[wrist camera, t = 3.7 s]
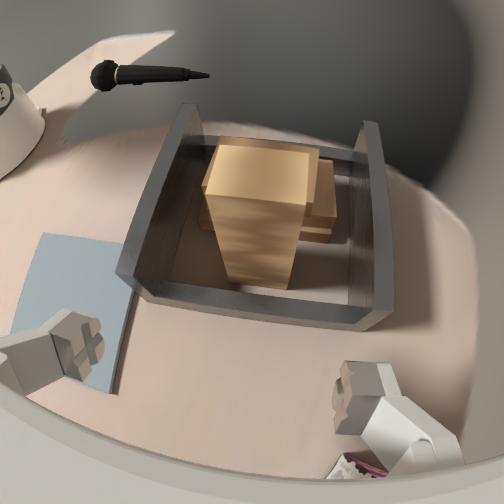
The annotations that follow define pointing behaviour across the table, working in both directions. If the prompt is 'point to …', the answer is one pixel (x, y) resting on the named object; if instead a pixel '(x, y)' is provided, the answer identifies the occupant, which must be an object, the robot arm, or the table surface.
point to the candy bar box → (354, 469)
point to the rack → (247, 304)
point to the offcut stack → (318, 190)
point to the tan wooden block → (258, 211)
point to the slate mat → (78, 294)
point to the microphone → (137, 75)
